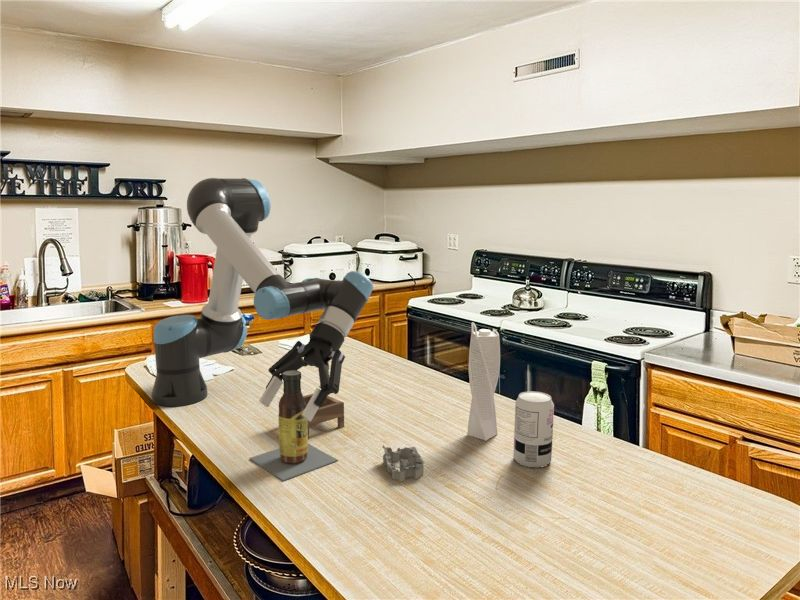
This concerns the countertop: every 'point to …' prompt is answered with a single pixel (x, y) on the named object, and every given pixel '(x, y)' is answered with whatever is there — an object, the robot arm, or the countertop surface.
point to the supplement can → (533, 429)
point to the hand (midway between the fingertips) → (283, 411)
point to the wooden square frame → (327, 412)
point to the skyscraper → (483, 382)
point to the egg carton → (403, 463)
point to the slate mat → (287, 470)
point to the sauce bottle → (292, 420)
